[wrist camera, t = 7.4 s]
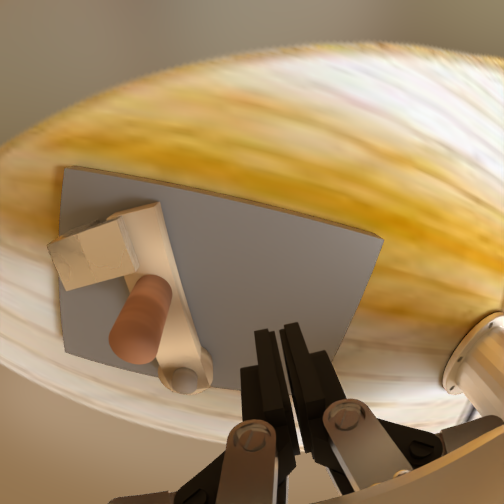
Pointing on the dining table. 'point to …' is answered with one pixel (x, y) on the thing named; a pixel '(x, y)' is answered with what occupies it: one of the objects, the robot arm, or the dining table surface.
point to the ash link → (158, 309)
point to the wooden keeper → (93, 253)
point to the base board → (222, 271)
